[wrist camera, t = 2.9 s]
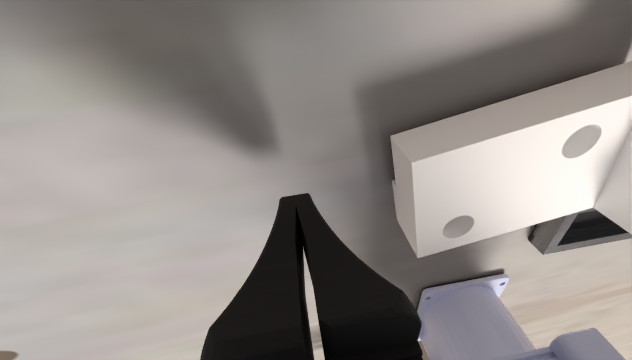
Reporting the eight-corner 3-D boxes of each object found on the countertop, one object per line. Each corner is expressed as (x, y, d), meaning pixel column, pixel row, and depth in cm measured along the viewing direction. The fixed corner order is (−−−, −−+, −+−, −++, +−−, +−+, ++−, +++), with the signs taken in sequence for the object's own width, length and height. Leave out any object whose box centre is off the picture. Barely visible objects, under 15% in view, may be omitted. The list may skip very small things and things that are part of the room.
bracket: (624, 53, 14) (882, 106, 8) (581, 161, 19) (733, 249, 13) (384, 127, 15) (464, 229, 9) (395, 217, 19) (455, 327, 13)
